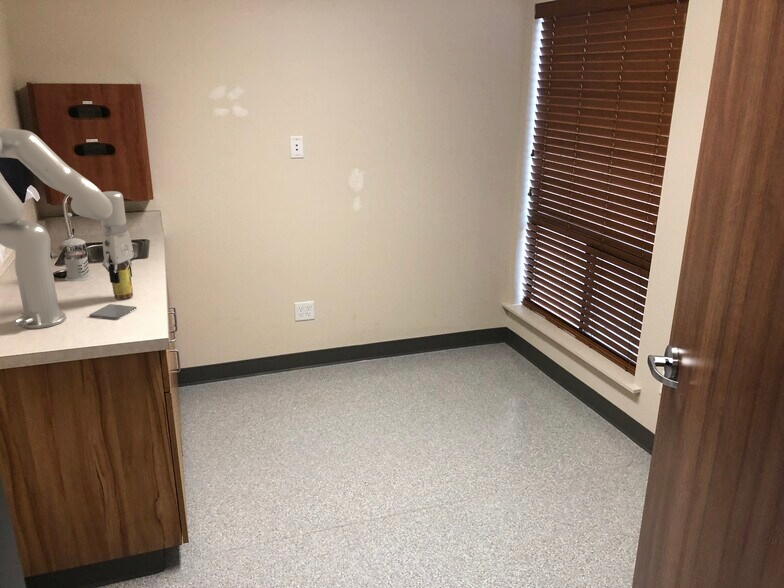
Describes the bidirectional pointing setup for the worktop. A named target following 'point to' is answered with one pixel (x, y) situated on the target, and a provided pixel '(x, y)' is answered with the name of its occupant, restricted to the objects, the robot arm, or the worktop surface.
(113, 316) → the coaster
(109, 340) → the worktop surface
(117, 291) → the sauce bottle
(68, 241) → the french press
